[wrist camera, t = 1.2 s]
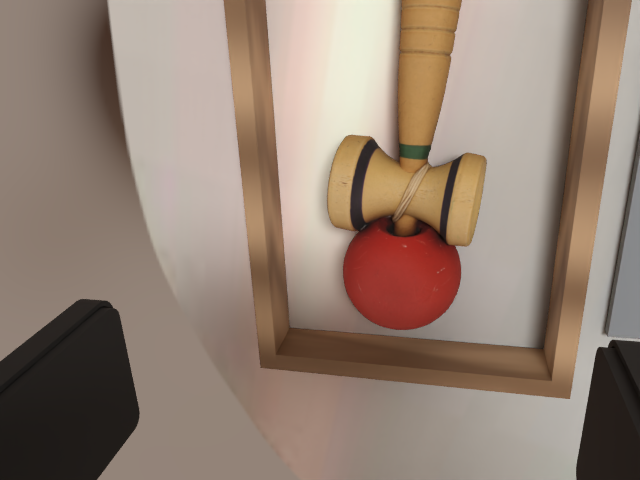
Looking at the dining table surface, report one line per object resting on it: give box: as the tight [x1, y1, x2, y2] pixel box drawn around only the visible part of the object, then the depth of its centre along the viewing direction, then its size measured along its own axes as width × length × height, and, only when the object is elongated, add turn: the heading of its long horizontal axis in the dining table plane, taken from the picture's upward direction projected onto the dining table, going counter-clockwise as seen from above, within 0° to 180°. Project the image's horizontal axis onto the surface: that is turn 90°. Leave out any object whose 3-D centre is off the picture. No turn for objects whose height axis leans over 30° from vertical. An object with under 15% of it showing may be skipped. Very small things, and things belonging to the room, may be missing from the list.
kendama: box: [327, 0, 487, 330], centre depth 27 cm, size 8×6×18 cm
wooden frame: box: [224, 0, 632, 399], centre depth 28 cm, size 25×17×3 cm
